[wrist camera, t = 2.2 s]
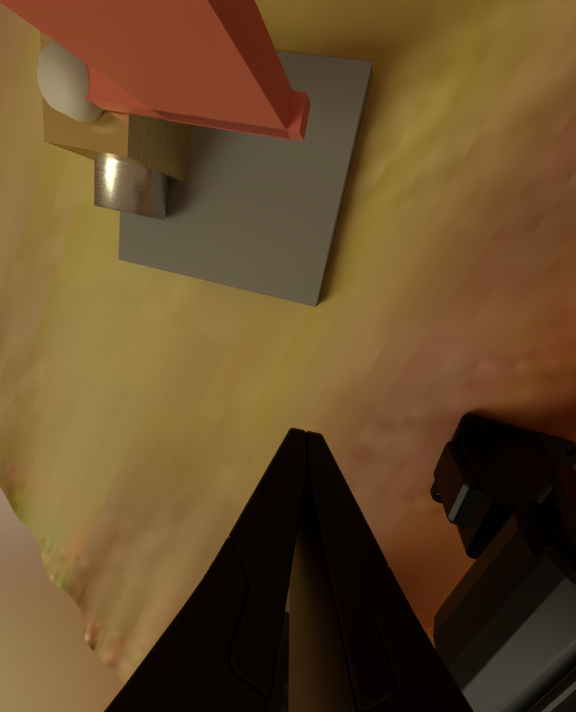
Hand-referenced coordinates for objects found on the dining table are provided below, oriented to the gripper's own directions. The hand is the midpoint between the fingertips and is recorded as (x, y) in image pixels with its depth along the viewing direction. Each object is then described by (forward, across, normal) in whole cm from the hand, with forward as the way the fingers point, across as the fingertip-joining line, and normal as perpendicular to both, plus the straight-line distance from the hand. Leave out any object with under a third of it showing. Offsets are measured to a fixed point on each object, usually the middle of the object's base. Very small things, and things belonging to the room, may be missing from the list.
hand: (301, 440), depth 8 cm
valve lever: (+10, +7, -7) cm, 14 cm away
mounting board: (+16, +6, -4) cm, 17 cm away
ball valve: (+16, +10, -5) cm, 20 cm away
